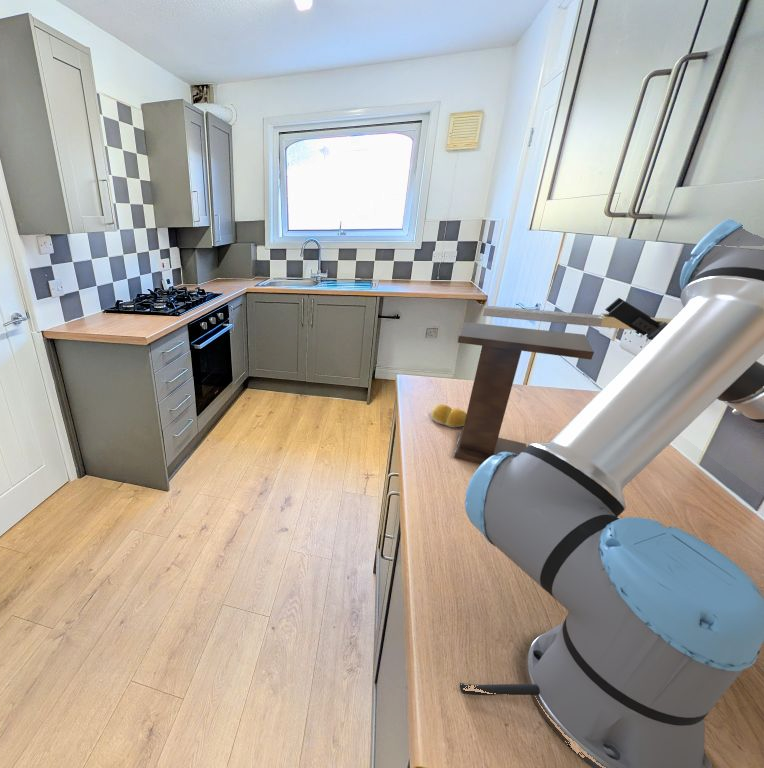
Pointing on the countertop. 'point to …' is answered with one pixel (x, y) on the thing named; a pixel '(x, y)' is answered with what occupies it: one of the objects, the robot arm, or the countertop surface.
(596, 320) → the kitchen knife
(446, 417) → the bread roll
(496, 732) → the countertop surface
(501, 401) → the shelf stand
